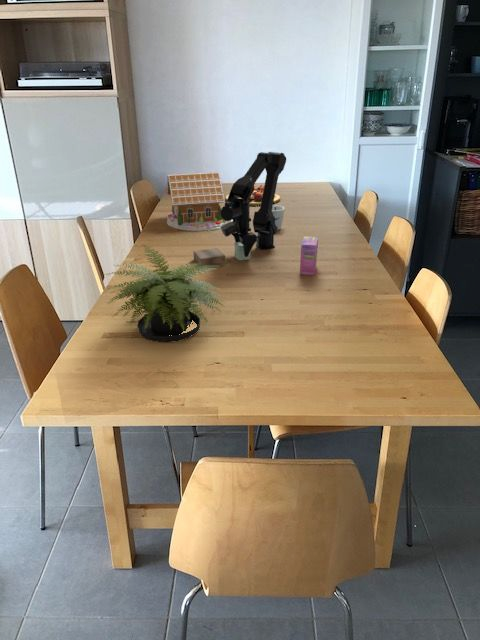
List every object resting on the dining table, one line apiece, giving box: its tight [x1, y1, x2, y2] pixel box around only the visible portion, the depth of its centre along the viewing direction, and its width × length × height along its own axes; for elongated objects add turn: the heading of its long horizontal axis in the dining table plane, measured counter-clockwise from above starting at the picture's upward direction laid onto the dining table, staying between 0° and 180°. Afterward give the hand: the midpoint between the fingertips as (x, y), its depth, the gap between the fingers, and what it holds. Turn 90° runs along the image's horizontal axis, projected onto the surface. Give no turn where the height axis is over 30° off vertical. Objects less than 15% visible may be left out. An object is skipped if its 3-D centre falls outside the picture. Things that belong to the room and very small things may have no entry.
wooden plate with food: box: [224, 184, 281, 207], centre depth 300 cm, size 32×32×8 cm
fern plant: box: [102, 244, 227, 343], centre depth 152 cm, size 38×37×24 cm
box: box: [299, 235, 319, 276], centre depth 197 cm, size 10×6×12 cm, turn 168°
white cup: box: [272, 204, 286, 231], centre depth 249 cm, size 10×15×10 cm
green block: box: [234, 242, 251, 261], centre depth 211 cm, size 5×5×6 cm
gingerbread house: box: [166, 171, 233, 232], centre depth 258 cm, size 35×35×24 cm
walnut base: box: [192, 247, 226, 268], centre depth 208 cm, size 10×10×4 cm
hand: (242, 253), depth 212 cm, fingers open, 9 cm apart
